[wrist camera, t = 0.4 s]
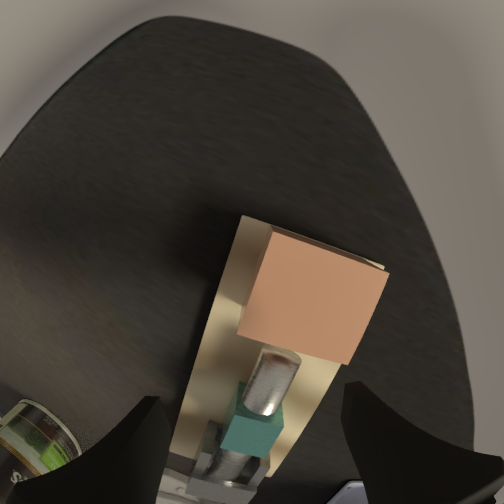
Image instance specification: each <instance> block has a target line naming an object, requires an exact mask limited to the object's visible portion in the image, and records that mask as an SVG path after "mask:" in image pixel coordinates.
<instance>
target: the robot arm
mask: <svg viewBox="0 0 504 504" xmlns="http://www.w3.org/2000/svg"><path fill="white" fill-rule="evenodd" d="M341 422H342V426H343V430H344V434H345V438H346V441H347V444H348V446H349V449H350V451H351V454H352V456H353V459H354V461H355V464H356V466H357V469H358V471H359V474H360V476H361V479H362V481H350V482H348V483H347V484H346V485H345V486H344V487H343V488H342V489H341V490H340V491H339V492H338V493H337V494H336V495H335V496H334V497H333V498H332V499H331V500H330V501H329V502H328V503H327V504H495V503H496V500H495V498H494V495H495V494H496V493H497V492H498V491H499V490H500V488H502V486H503V485H504V460H503V459H502V458H501V457H500V456H494V455H488V454H482V453H478V452H474V451H470V450H467V449H463V448H460V447H458V446H455V445H452V444H450V443H447V442H445V441H443V440H440V439H438V438H436V437H434V436H432V435H430V434H428V433H427V432H425V431H423V430H421V429H420V428H418V427H416V426H415V425H413V424H412V423H410V422H409V421H408V420H406V419H405V418H403V417H402V416H401V415H399V414H398V413H397V412H395V411H394V410H393V409H392V408H390V407H389V406H388V405H387V404H386V403H384V402H383V401H382V400H381V399H380V398H379V397H378V396H376V395H375V394H374V393H373V392H372V391H371V390H370V389H369V388H368V387H367V386H365V385H364V384H363V383H362V382H361V381H356V382H351V383H346V384H345V390H344V398H343V405H342V412H341ZM171 433H172V429H171V426H170V424H169V421H168V419H167V416H166V413H165V411H164V408H163V405H162V402H161V400H160V397H157V396H145V397H144V398H143V399H142V400H141V401H140V402H139V403H138V404H137V405H136V406H135V407H134V408H133V409H132V410H131V411H130V412H129V413H128V415H127V416H126V417H125V418H124V419H123V420H122V421H121V422H120V423H119V424H118V425H117V426H116V427H115V428H114V429H113V430H111V431H110V432H109V433H108V434H107V435H106V436H105V437H104V438H102V439H101V440H100V441H99V442H98V443H97V444H95V445H94V446H93V447H91V448H90V449H89V450H87V451H86V452H84V453H83V454H82V455H80V456H78V457H77V458H75V459H73V460H72V461H70V462H68V463H66V464H65V465H63V466H61V467H59V468H57V469H55V470H52V471H50V472H48V473H45V474H43V475H40V476H37V477H34V478H30V479H27V480H23V481H19V482H16V484H15V485H14V487H13V489H12V491H11V492H10V494H9V496H8V498H7V500H6V501H5V504H156V499H157V494H158V490H159V486H160V483H161V479H162V475H163V472H164V468H165V465H166V461H167V457H168V453H169V449H170V442H171Z"/></svg>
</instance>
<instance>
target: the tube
mask: <svg viewBox="0 0 504 504" xmlns="http://www.w3.org/2000/svg"><path fill="white" fill-rule="evenodd" d="M301 363H302V360H301V358H300V356H299V355H298V354H297V353H295V352H294V351H291V350H287V349H284V348H280V347H277V346H274V345H270V344H266V345H264V346H263V347H262V349H261V352H260V354H259V357H258V359H257V361H256V364H255V366H254V369H253V371H252V373H251V376H250V378H249V380H248V383H245V382H242V381H239V382H238V385H237V387H236V389H235V392H234V394H233V397H232V399H231V402H230V404H229V406H228V409H227V411H226V413H225V419H224V425H223V431H222V437H221V443H220V446H219V448H218V450H217V452H216V454H215V456H214V458H213V461H212V463H211V465H210V467H209V469H208V471H207V473H206V475H205V476H209V477H213V478H217V479H221V480H225V481H229V482H234V483H236V481H237V479H238V478H239V476H240V475H241V473H242V471H243V470H244V468H245V467H246V465H247V463H248V462H249V460H250V458H251V457H252V456H256V457H261V458H265V457H266V456H267V454H268V452H269V451H270V449H271V448H272V446H273V444H274V443H275V441H276V440H277V438H278V436H279V435H280V433H281V431H282V430H283V428H284V419H283V408H282V401H283V399H284V397H285V395H286V393H287V391H288V389H289V387H290V385H291V383H292V381H293V379H294V377H295V375H296V373H297V371H298V369H299V367H300V365H301Z"/></svg>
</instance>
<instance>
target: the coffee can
mask: <svg viewBox="0 0 504 504" xmlns="http://www.w3.org/2000/svg"><path fill="white" fill-rule="evenodd" d="M80 455H82V452H81V448H80V446H79V443H78V442H77V440H76V439H75V437H74V435H73V434H72V433H71V431H70V430H69V429H68V428H67V427H66V426H65V425H64V423H63V422H62V421H61V420H60V419H58V418H57V417H56V416H55V415H54V414H53V413H52V412H50V411H49V410H48V409H47V408H45V407H44V406H42V405H40V404H39V403H37V402H35V401H32V400H29V399H23V400H21V401H19V403H18V404H17V405H16V406H15V407H14V408H13V409H12V410H11V411H9V412H8V413H7V414H6V415H5V416H4V417H3V418H2V419H1V420H0V504H5V501H6V500H7V498H8V496H9V494H10V492H11V491H12V489H13V487H14V485H15V484H16V482H19V481H23V480H27V479H30V478H34V477H37V476H40V475H43V474H45V473H48V472H50V471H52V470H55V469H57V468H59V467H61V466H63V465H65V464H66V463H68V462H70V461H72V460H73V459H75V458H77V457H78V456H80Z"/></svg>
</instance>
